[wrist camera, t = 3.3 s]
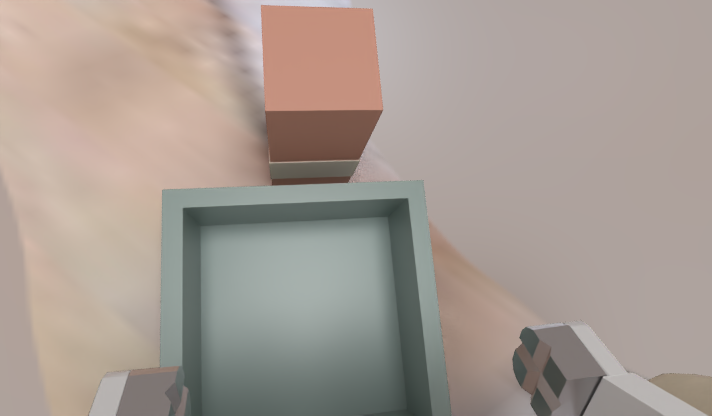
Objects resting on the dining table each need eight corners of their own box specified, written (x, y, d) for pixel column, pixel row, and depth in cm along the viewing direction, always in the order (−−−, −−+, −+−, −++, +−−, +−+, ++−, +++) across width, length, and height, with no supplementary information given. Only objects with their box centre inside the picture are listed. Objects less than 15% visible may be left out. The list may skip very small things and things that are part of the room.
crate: (420, 420, 28) (455, 449, 22) (186, 451, 25) (158, 492, 20) (397, 204, 31) (423, 180, 25) (187, 214, 29) (162, 189, 23)
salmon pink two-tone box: (346, 186, 31) (384, 111, 19) (272, 189, 30) (264, 112, 18) (341, 118, 32) (373, 7, 20) (268, 119, 31) (259, 4, 19)
